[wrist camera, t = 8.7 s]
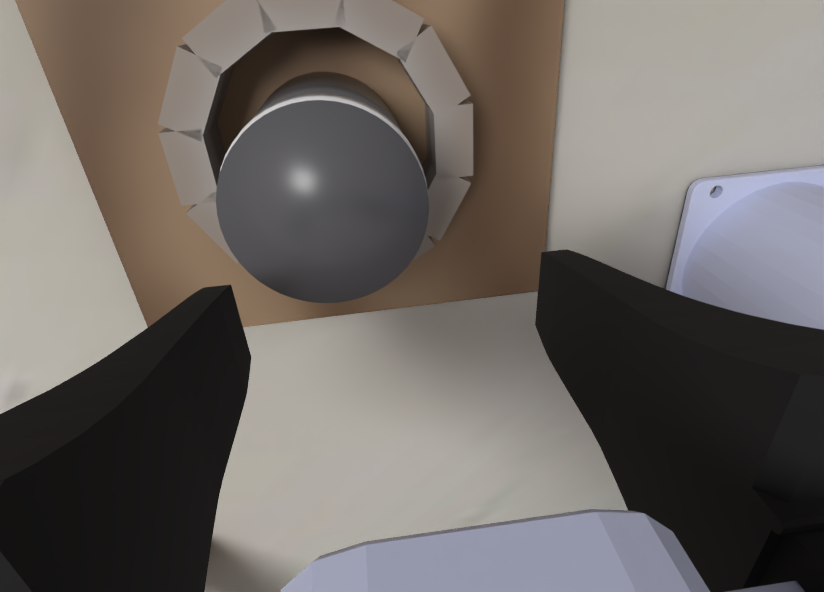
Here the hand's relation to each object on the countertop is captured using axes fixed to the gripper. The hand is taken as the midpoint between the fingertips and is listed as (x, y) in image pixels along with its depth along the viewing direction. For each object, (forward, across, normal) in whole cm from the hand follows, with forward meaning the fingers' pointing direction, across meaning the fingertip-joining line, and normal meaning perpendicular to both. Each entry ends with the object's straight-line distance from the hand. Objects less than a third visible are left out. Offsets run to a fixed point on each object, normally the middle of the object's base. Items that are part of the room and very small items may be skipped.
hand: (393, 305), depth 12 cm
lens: (+8, +1, -2) cm, 8 cm away
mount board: (+8, +2, -2) cm, 9 cm away
